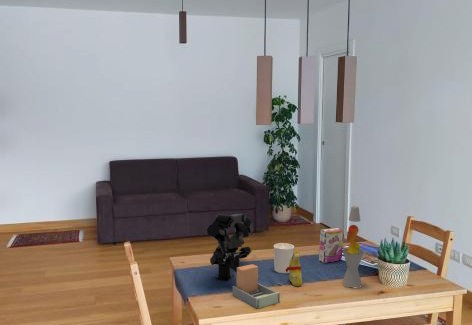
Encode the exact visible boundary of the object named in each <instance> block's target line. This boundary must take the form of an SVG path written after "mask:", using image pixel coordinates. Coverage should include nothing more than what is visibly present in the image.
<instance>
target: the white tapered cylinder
mask: <svg viewBox="0 0 472 325" xmlns="http://www.w3.org/2000/svg"><path fill="white" fill-rule="evenodd" d="M294 250H295V245H293V244H291V243H286V242H279V243H275V244H273V262H274V271H275V272H276V273H279V274H289V270H288V272H286V269H287V267H289V262H290V259H291V257H292V256H293V252H294Z"/></svg>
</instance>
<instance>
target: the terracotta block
mask: <svg viewBox="0 0 472 325" xmlns="http://www.w3.org/2000/svg"><path fill="white" fill-rule="evenodd" d="M258 283H259V266H257V265H255V264H253V263H252V264H251V263H250V264H247V265H243V266H240V267H237V273H236V287H237V288H239V289H241V290H242V291H244V292H246V293H249V292H252V291H256V290H258Z"/></svg>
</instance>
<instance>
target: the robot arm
mask: <svg viewBox="0 0 472 325" xmlns="http://www.w3.org/2000/svg"><path fill="white" fill-rule="evenodd" d="M233 227H234V231H235V232H233V234H232V235H231V236H230V235H229V232H228V231H227V230H228V229H231V228H233ZM253 232H254V226H253V223H252V221H251V220H250V219H249V218H248V217H247V214H245V213H241V212H237V213H235V214H223V213H219V214H218V215H217V216H216V217H215V219H214V220H213V221H212V224H210V225H209V226H208V227H207V229H206V233H207V235H208V236H209V237H211V238H212V239H214V240H216V241H217V244H218V245H217V247H215V250H214V251H213V253H212V256H211V257H210V259H209V263H210V265H211V266H213V265H215V266H216V265H218V270H217V271H218V272H217V273H218V274H217V275H216V276H215V277H214V278H215V279H217V280H224V281H230V280H231V279H232V278H233V277H234V276H235V275H234V274H232V270H233V271H234V272H235V273H236V274H237V267H241V265H240V259H241V260H242V259H246V258H248V257H249V255H250V254H251V253H252V249H251V247H250V246H245V247H243V245H244V244H245V240H244V239H246V238H249V237H250V236H251V235H252V234H253ZM240 247H241V248H240ZM239 248H240V249H239Z"/></svg>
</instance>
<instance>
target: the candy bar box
mask: <svg viewBox="0 0 472 325" xmlns="http://www.w3.org/2000/svg"><path fill="white" fill-rule="evenodd" d="M343 242H344V229H341V228H339V227H335V228H324V229H320V230H319V249H318V251H319V252H318V261H319V262H320V261H321V263H322V264H329V263H328V262H331V263H335V262H334V261H338V262H340V261H339V260H341V258H342V259H343V248H344V247H343V244H344V243H343Z"/></svg>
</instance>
